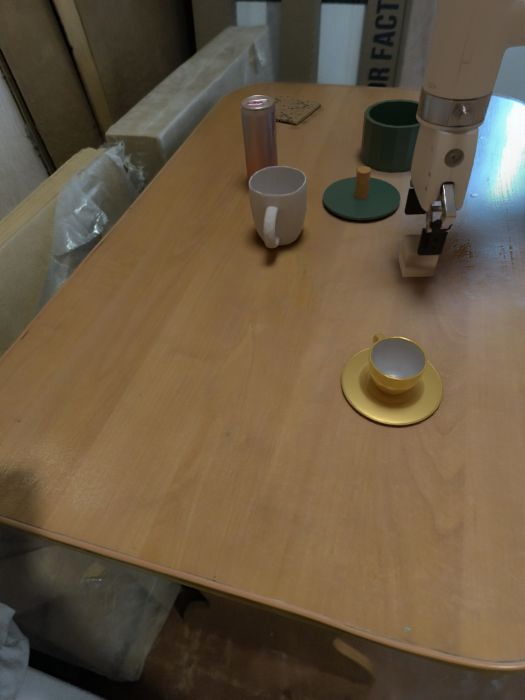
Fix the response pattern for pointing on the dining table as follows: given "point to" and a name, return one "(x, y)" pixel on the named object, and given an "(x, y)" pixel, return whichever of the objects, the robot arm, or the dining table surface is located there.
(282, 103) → the cookie
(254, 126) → the beverage can
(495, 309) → the dining table surface
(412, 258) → the block
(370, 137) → the tin
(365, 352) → the cup
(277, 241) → the mug
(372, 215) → the tin lid
